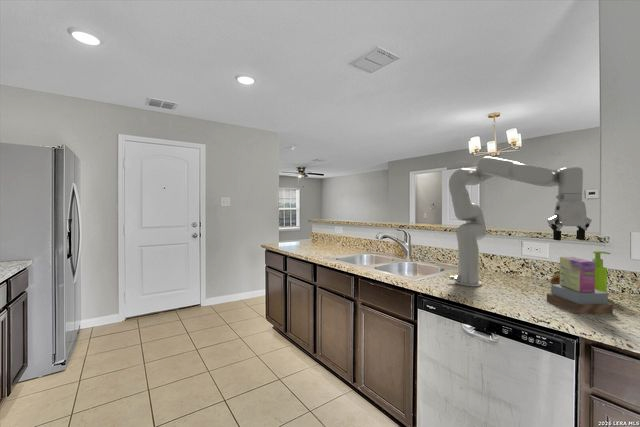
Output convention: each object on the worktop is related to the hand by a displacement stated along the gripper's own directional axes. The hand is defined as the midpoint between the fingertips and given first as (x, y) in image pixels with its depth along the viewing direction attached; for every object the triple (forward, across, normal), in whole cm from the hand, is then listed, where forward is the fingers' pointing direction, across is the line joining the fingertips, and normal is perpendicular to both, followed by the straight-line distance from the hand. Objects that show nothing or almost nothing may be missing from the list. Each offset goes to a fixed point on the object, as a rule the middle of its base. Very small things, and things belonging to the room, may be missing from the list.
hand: (568, 240), depth 120 cm
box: (+19, 0, -4) cm, 20 cm away
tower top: (+23, +1, -4) cm, 23 cm away
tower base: (+27, +1, -4) cm, 27 cm away
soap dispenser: (+26, +20, +8) cm, 34 cm away
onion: (+27, +16, +23) cm, 39 cm away
